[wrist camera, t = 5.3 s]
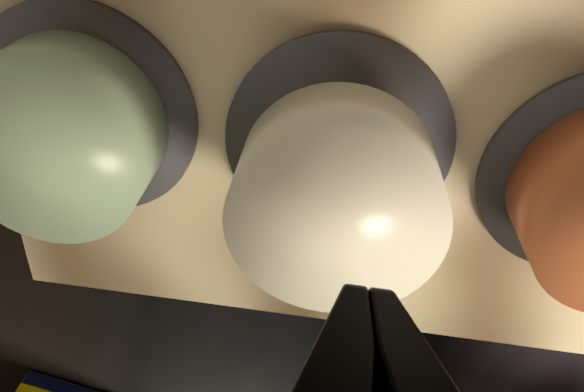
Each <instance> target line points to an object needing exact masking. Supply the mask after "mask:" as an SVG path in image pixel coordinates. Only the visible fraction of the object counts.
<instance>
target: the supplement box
mask: <svg viewBox="0 0 584 392" xmlns="http://www.w3.org/2000/svg"><path fill="white" fill-rule="evenodd" d="M15 392H99V391H95V390H92V389H88V388H85V387H82V386H79V385H76V384H72V383H69V382H66V381H63V380H60V379H56V378H53V377H50V376H46V375H43V374H40V373H37V372H33V371H30V372H28V373H26V375H25V376H24V378H23V380H22V381H21V383H20V385H19V386H18V388H17V389H16V391H15Z"/></svg>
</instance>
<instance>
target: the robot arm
mask: <svg viewBox="0 0 584 392" xmlns="http://www.w3.org/2000/svg"><path fill="white" fill-rule="evenodd" d="M291 392H460V391H459V389H458V388H457V386H456V385H455V383H454V382H453V380H452V378H451V377H450V375H449V374H448V372H447V371H446V369H445V368H444V366H443V365H442V363H441V362H440V360H439V359H438V357H437V356H436V354H435V353H434V351H433V350H432V348H431V347H430V345H429V344H428V342H427V341H426V339H425V337H424V336H423V334H422V333H421V331H420V330H419V328H418V327H417V325H416V324H415V322H414V321H413V319H412V318H411V316H410V315H409V313H408V312H407V310H406V309H405V307H404V306H403V304H402V303H401V301H400V300H399V298H398V297H397V295H396V294H395V292H394V291H392V290H390V289H383V288H376V287H371V288H369V289H368V288H367V287H366V286H362V285H354V284H344V285H343V287H342V289H341V291H340V293H339V295H338V297H337V299H336V301H335V303H334V305H333V307H332V309H331V311H330V313H329V315H328V317H327V319H326V321H325V323H324V325H323V327H322V329H321V331H320V333H319V335H318V337H317V339H316V341H315V343H314V345H313V347H312V349H311V351H310V353H309V355H308V358H307V360H306V362H305V364H304V366H303V368H302V370H301V372H300V374H299V376H298V378H297V380H296V382H295V384H294V386H293V388H292V390H291Z"/></svg>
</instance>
